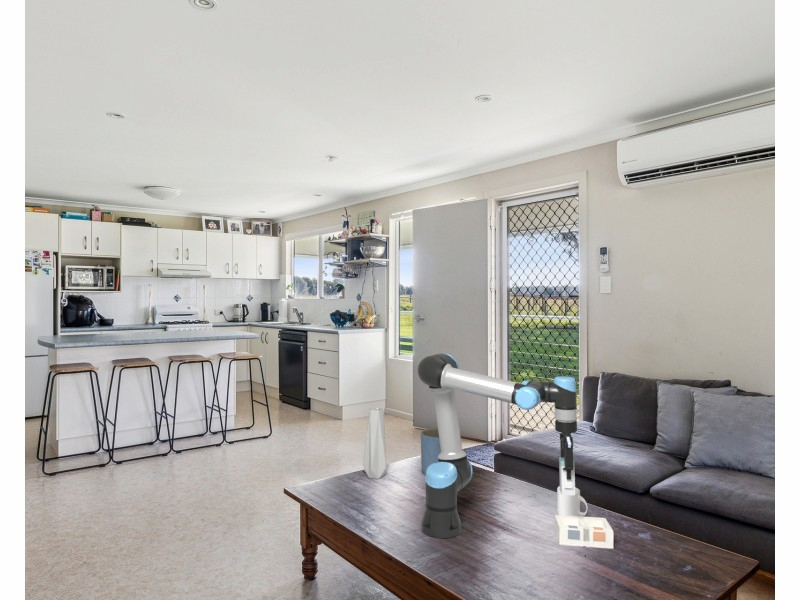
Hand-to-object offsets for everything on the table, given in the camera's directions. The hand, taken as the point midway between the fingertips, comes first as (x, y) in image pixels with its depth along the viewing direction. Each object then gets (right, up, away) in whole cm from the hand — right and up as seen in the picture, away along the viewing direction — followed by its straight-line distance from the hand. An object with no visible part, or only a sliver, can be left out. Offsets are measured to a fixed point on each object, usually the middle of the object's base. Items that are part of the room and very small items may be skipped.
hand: (567, 485), depth 180 cm
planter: (-40, -20, +72) cm, 85 cm away
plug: (0, -3, 0) cm, 3 cm away
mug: (+9, -20, +19) cm, 29 cm away
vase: (-72, -20, +65) cm, 99 cm away
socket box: (+6, -20, 0) cm, 20 cm away
